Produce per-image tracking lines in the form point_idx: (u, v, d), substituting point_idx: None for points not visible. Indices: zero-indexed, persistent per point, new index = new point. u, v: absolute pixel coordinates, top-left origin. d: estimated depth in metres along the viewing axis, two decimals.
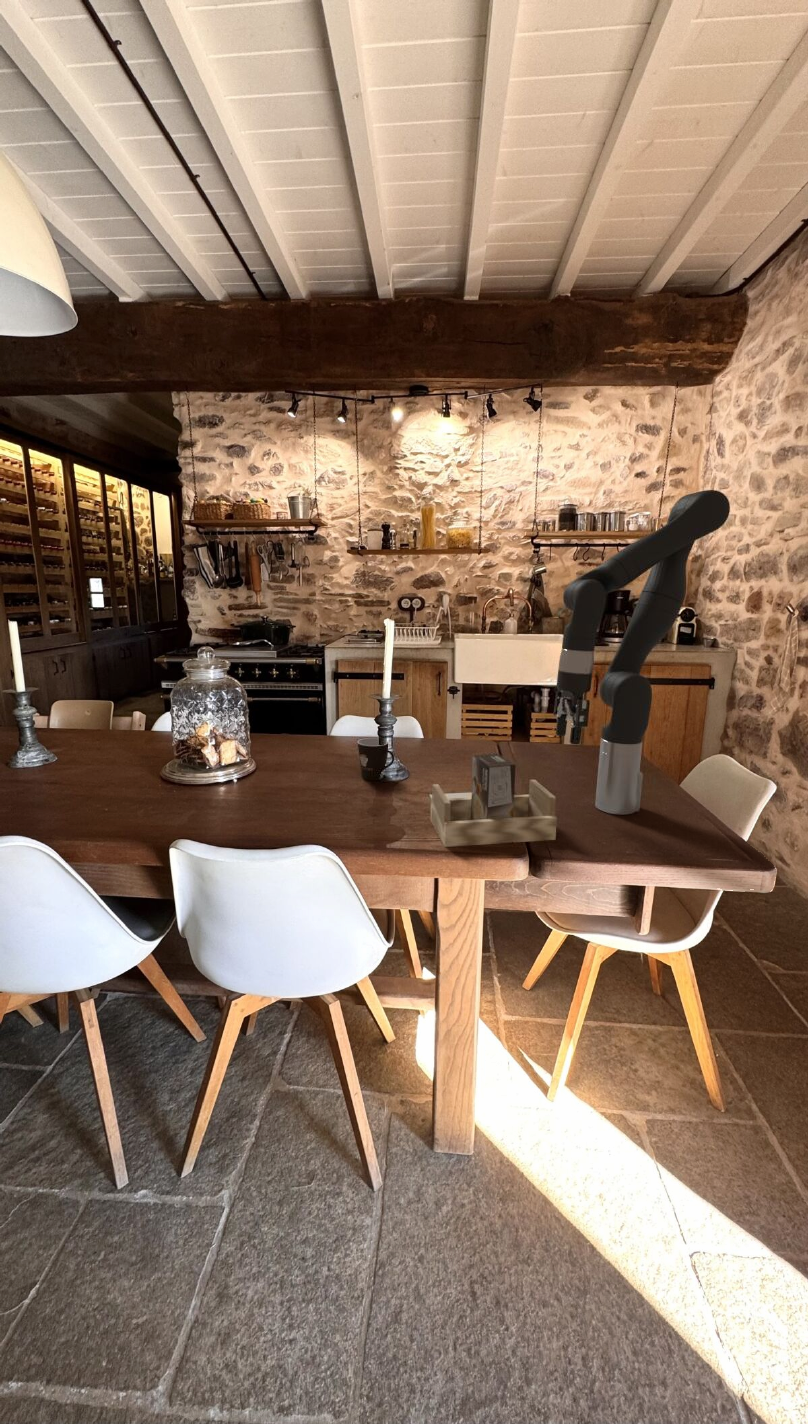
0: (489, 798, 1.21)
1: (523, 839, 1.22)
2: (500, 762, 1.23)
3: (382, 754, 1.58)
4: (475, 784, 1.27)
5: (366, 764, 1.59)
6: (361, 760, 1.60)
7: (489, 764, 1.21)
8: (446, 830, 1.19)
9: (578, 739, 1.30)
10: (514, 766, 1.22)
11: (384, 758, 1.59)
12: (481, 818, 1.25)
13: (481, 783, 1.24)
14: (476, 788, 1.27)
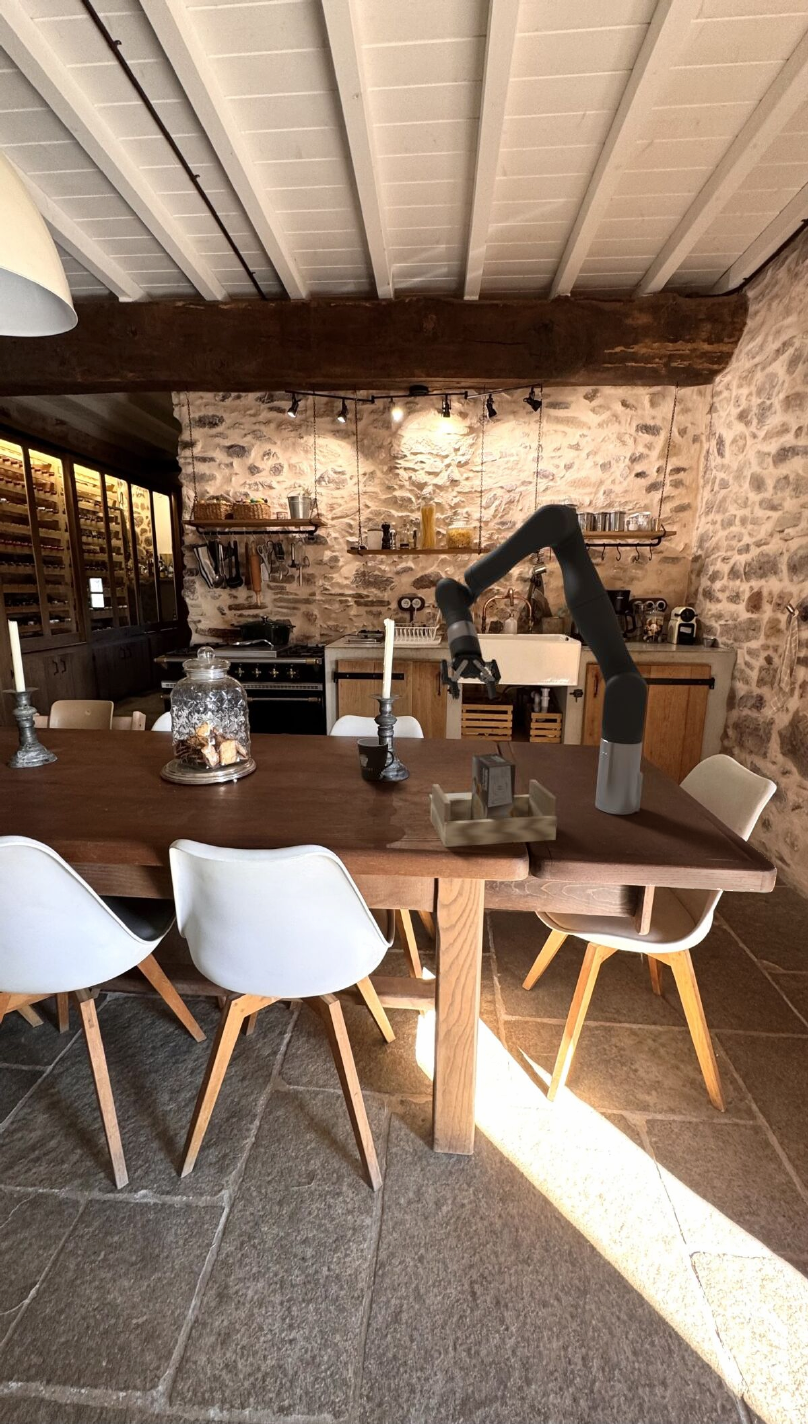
0: (489, 798, 1.21)
1: (523, 839, 1.22)
2: (500, 762, 1.23)
3: (382, 754, 1.58)
4: (475, 784, 1.27)
5: (366, 764, 1.59)
6: (361, 760, 1.60)
7: (489, 764, 1.21)
8: (446, 830, 1.19)
9: (452, 692, 1.37)
10: (514, 766, 1.22)
11: (384, 758, 1.59)
12: (481, 818, 1.25)
13: (481, 783, 1.24)
14: (476, 788, 1.27)
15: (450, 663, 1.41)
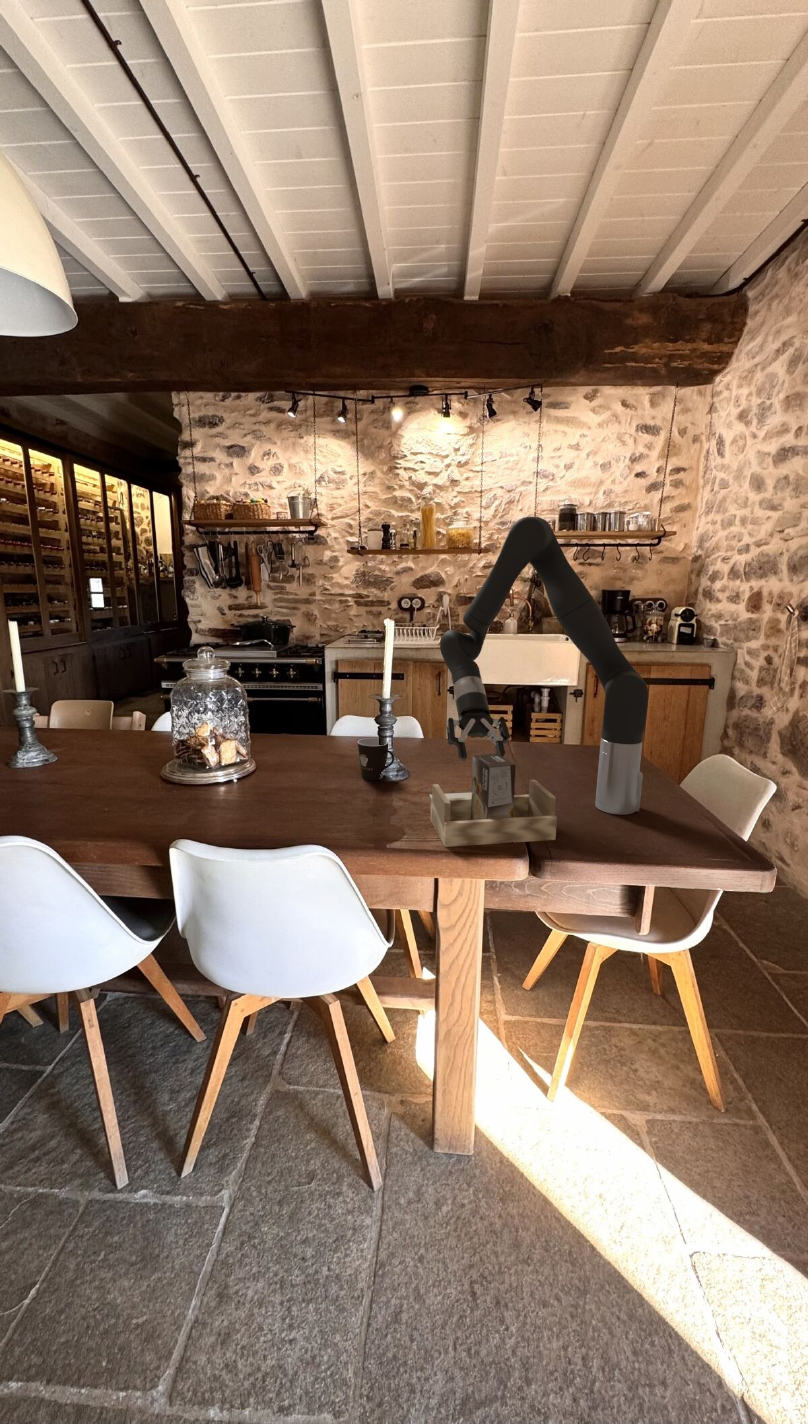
0: (489, 798, 1.21)
1: (523, 839, 1.22)
2: (500, 762, 1.23)
3: (382, 754, 1.58)
4: (475, 784, 1.27)
5: (366, 764, 1.59)
6: (361, 760, 1.60)
7: (489, 764, 1.21)
8: (446, 830, 1.19)
9: (459, 753, 1.32)
10: (514, 766, 1.22)
11: (384, 758, 1.59)
12: (481, 818, 1.25)
13: (481, 783, 1.24)
14: (476, 788, 1.27)
15: (457, 721, 1.37)
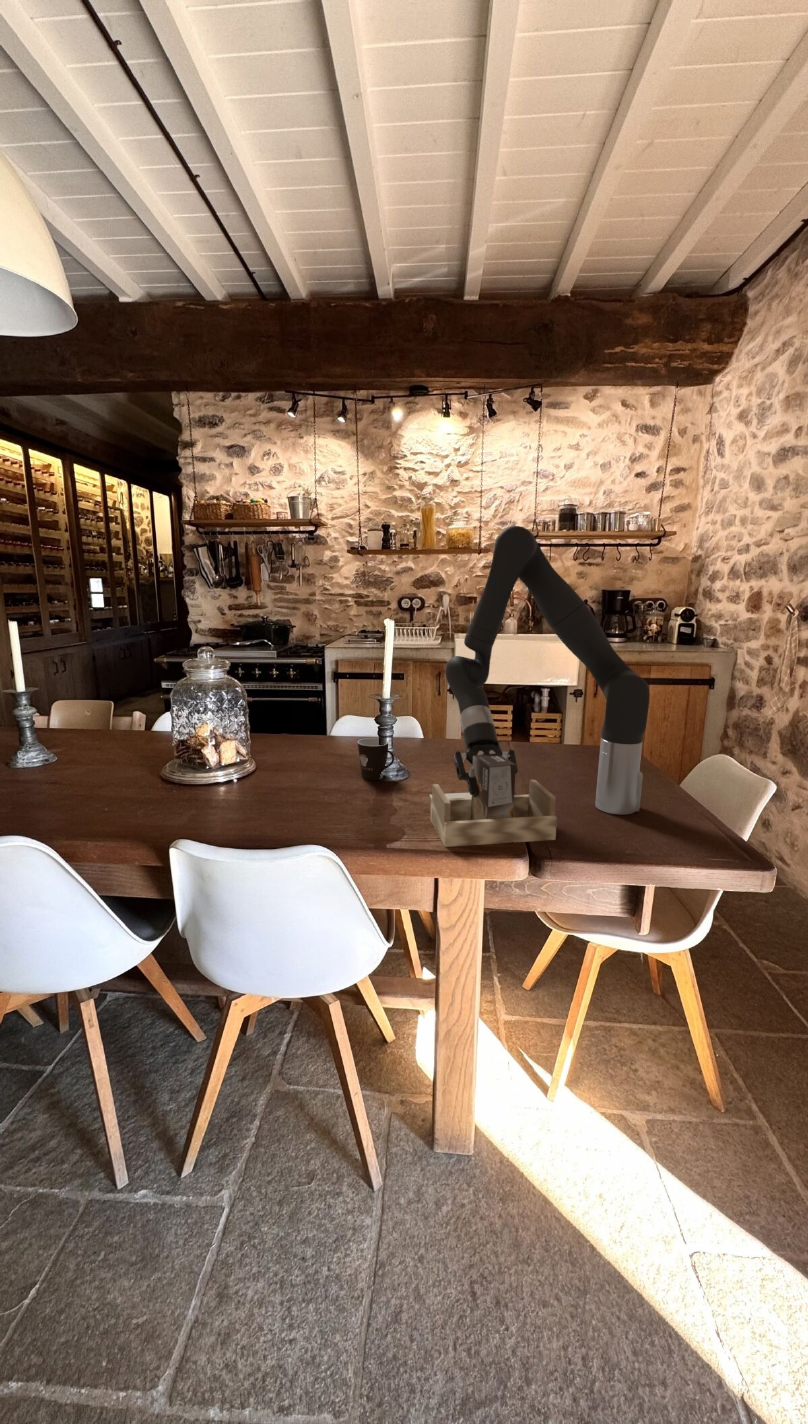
0: (489, 797, 1.21)
1: (523, 839, 1.22)
2: (500, 761, 1.23)
3: (382, 754, 1.58)
4: None
5: (366, 764, 1.59)
6: (361, 760, 1.60)
7: (489, 764, 1.21)
8: (446, 830, 1.19)
9: (470, 789, 1.26)
10: (514, 766, 1.22)
11: (384, 758, 1.59)
12: (481, 818, 1.25)
13: (481, 783, 1.24)
14: None
15: (464, 754, 1.31)
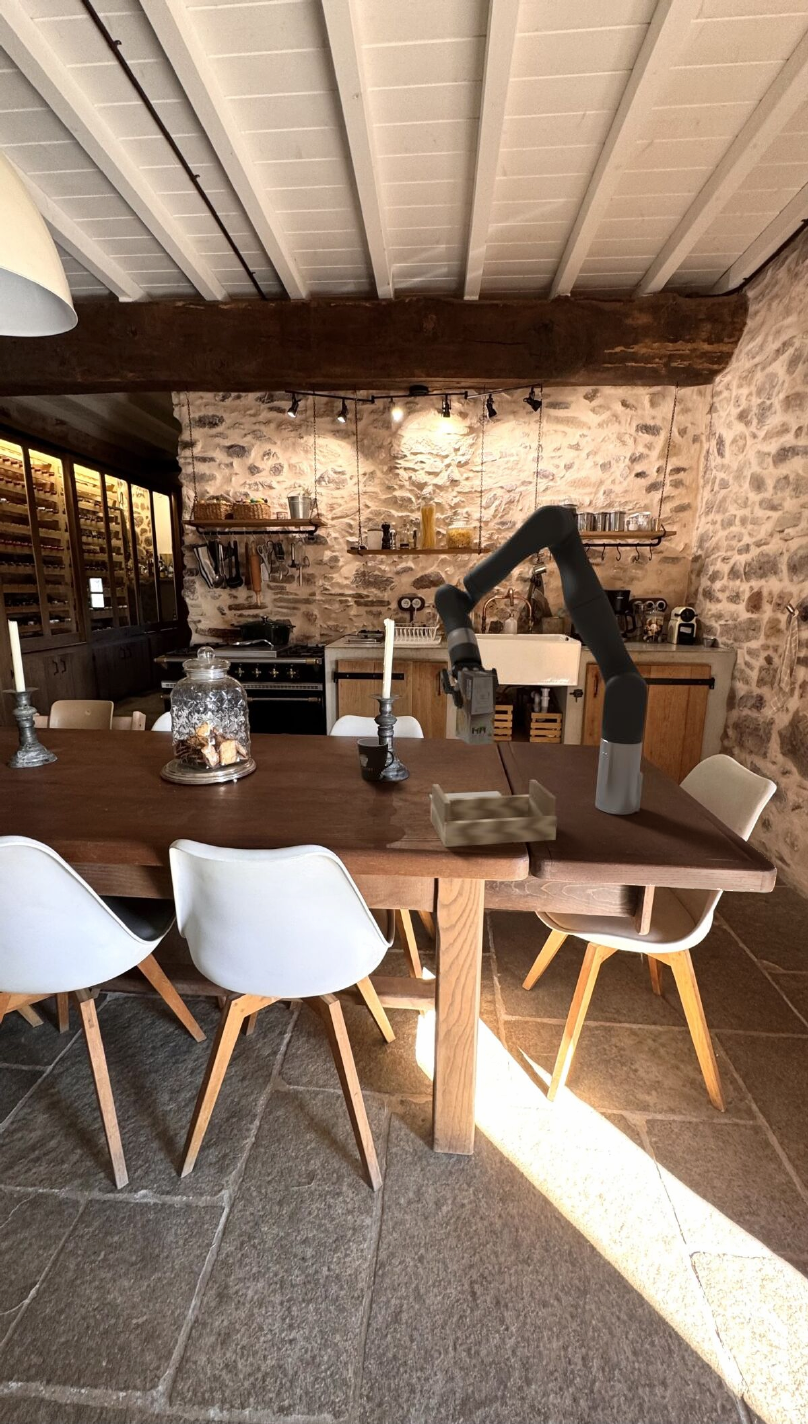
0: (472, 706, 1.32)
1: (523, 839, 1.22)
2: (483, 674, 1.34)
3: (382, 754, 1.58)
4: None
5: (366, 764, 1.59)
6: (361, 760, 1.60)
7: (472, 675, 1.32)
8: (446, 830, 1.19)
9: (455, 701, 1.36)
10: (496, 677, 1.32)
11: (384, 758, 1.59)
12: (465, 727, 1.35)
13: (465, 694, 1.34)
14: None
15: (450, 671, 1.41)
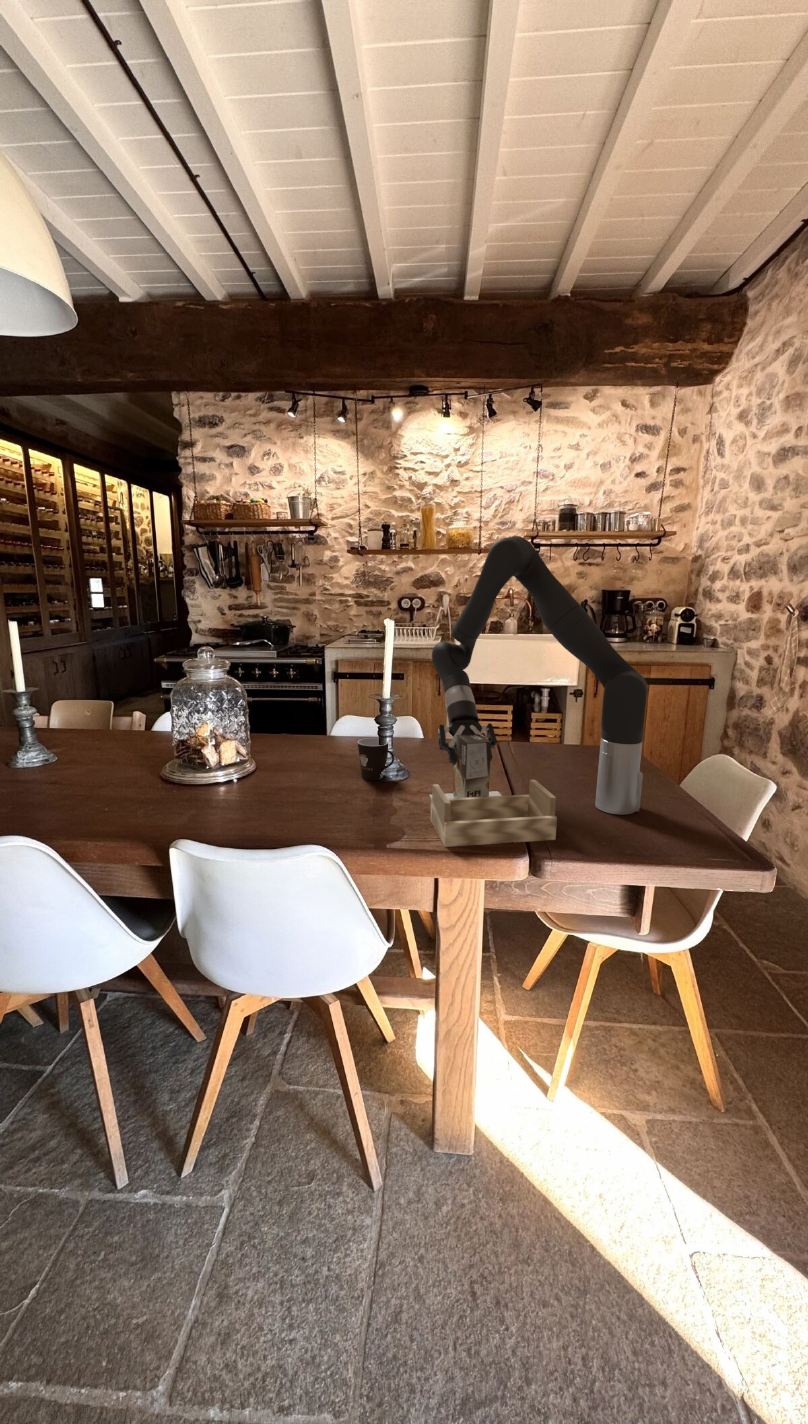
0: (467, 771, 1.37)
1: (523, 839, 1.22)
2: (477, 739, 1.39)
3: (382, 754, 1.58)
4: None
5: (366, 764, 1.59)
6: (361, 760, 1.60)
7: (467, 741, 1.37)
8: (446, 830, 1.19)
9: None
10: (490, 743, 1.37)
11: (384, 758, 1.59)
12: (461, 790, 1.41)
13: (461, 758, 1.40)
14: (457, 763, 1.42)
15: (447, 728, 1.46)
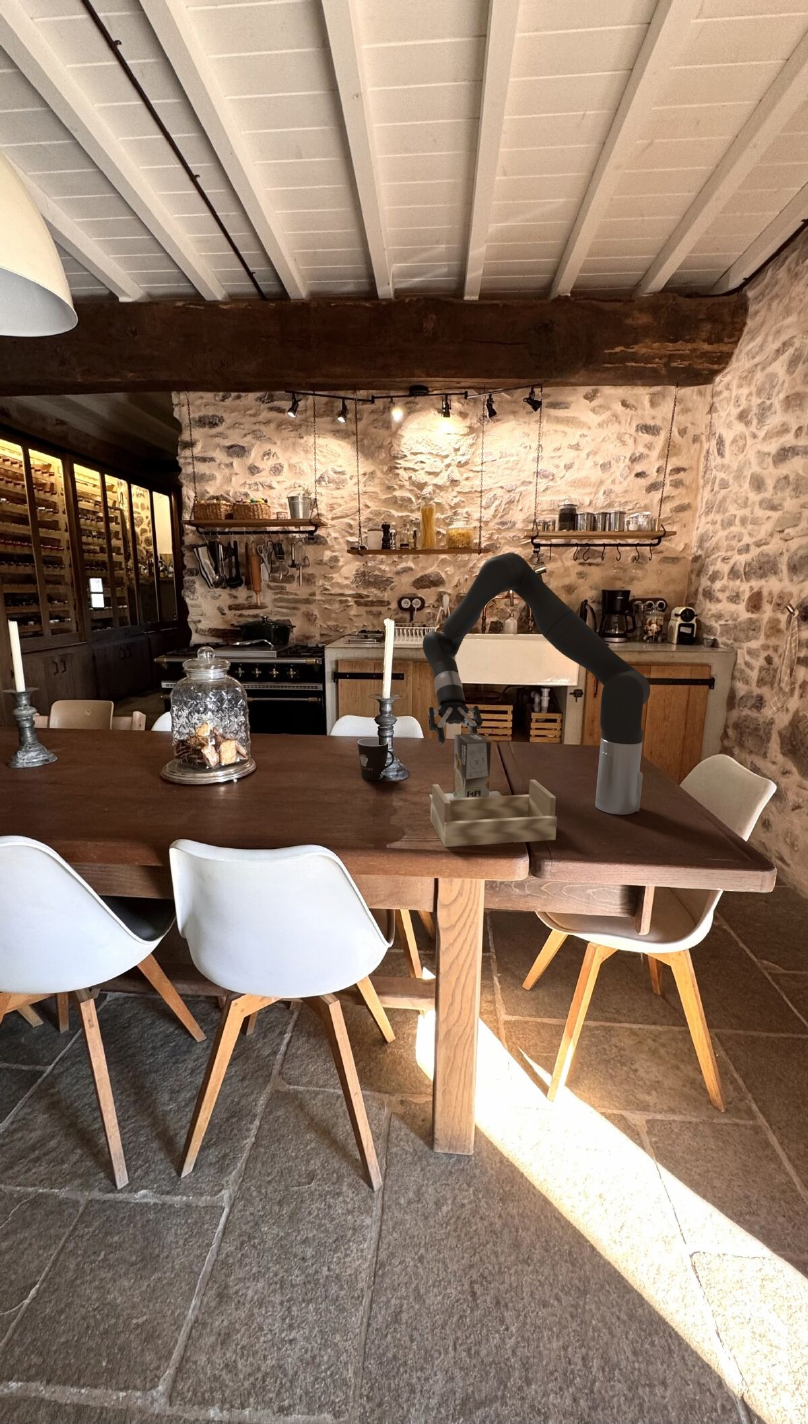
0: (467, 771, 1.37)
1: (523, 839, 1.22)
2: (477, 739, 1.39)
3: (382, 754, 1.58)
4: (457, 760, 1.43)
5: (366, 764, 1.59)
6: (361, 760, 1.60)
7: (467, 741, 1.37)
8: (446, 830, 1.19)
9: None
10: (490, 743, 1.37)
11: (384, 758, 1.59)
12: (461, 790, 1.41)
13: (461, 758, 1.40)
14: (457, 763, 1.42)
15: (437, 710, 1.58)
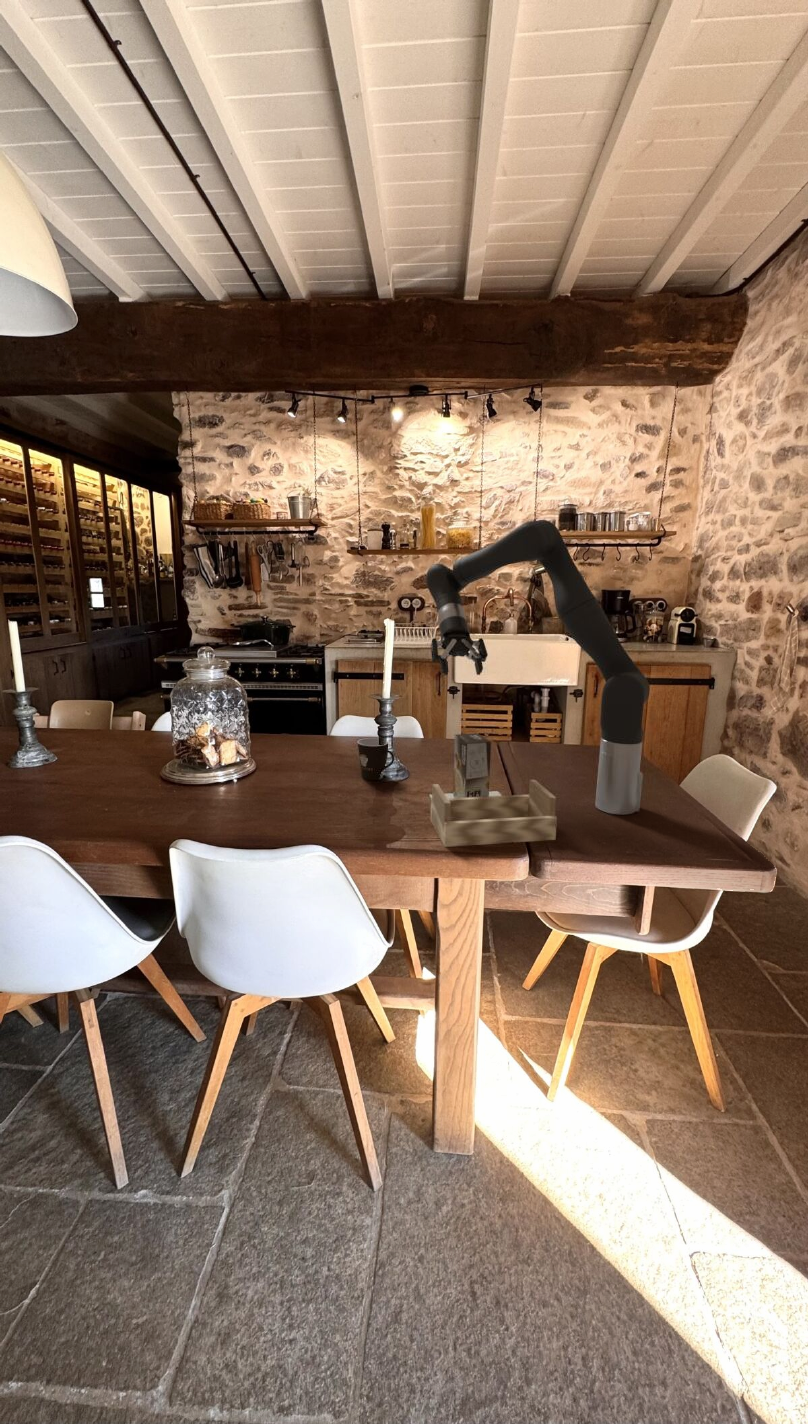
0: (467, 771, 1.37)
1: (523, 839, 1.22)
2: (477, 739, 1.39)
3: (382, 754, 1.58)
4: (456, 760, 1.43)
5: (366, 764, 1.59)
6: (361, 760, 1.60)
7: (467, 741, 1.37)
8: (446, 830, 1.19)
9: (442, 668, 1.47)
10: (490, 743, 1.37)
11: (384, 758, 1.59)
12: (461, 790, 1.41)
13: (461, 758, 1.40)
14: (457, 763, 1.42)
15: (440, 642, 1.51)
